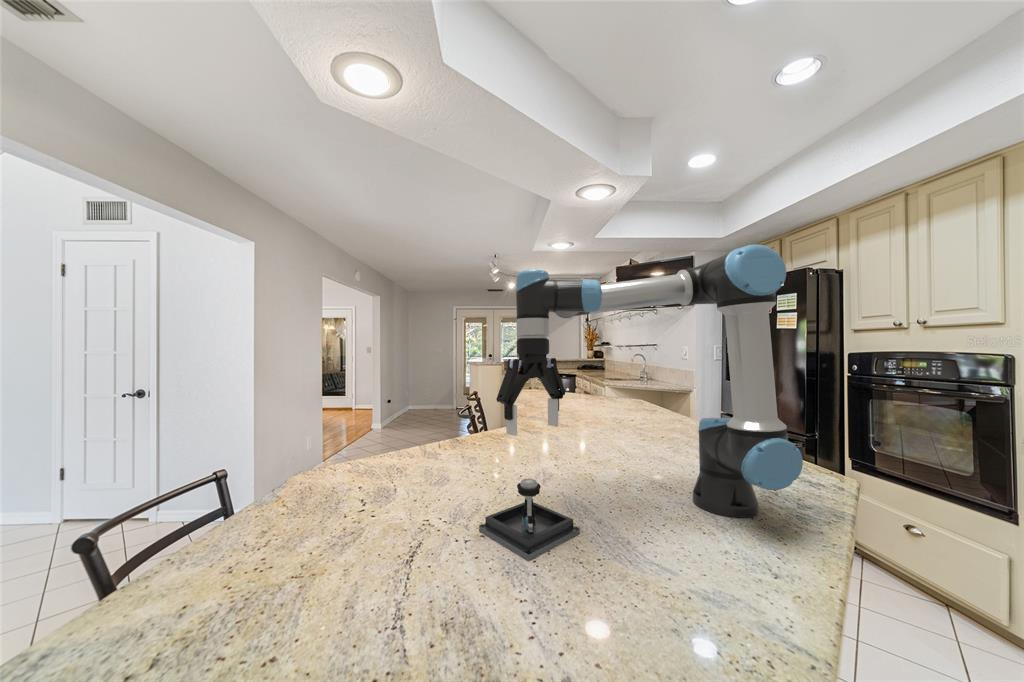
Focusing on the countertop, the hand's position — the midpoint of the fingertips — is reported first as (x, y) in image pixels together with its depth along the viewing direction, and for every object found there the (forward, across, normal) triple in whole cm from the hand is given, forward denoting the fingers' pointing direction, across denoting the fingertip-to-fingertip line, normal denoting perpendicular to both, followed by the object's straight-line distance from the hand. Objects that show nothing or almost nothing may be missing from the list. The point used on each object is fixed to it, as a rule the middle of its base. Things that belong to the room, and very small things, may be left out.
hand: (533, 430), depth 85 cm
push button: (+22, +2, 0) cm, 22 cm away
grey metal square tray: (+23, +2, 0) cm, 23 cm away
